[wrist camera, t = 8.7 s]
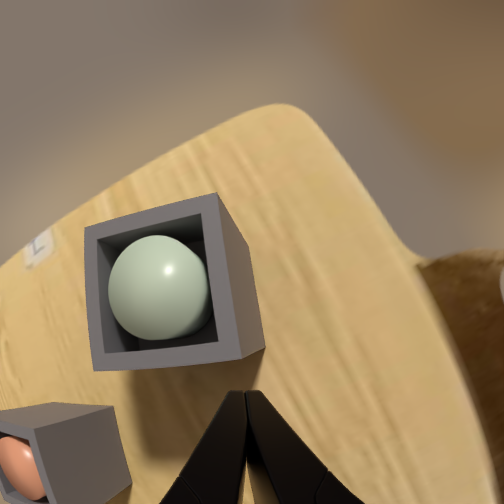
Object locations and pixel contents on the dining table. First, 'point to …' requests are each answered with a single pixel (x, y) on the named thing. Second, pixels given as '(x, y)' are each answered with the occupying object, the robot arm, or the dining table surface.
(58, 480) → the grey square housing
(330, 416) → the dining table surface
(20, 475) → the terracotta button
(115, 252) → the grey square socket
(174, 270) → the sage button
